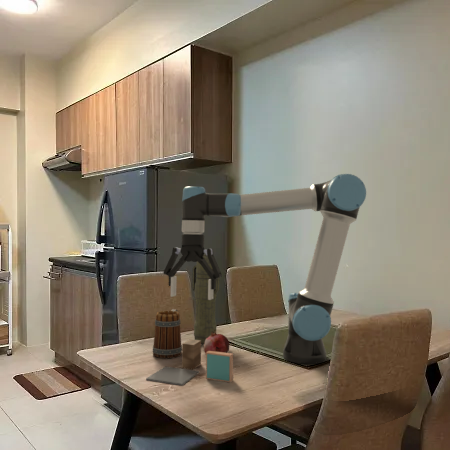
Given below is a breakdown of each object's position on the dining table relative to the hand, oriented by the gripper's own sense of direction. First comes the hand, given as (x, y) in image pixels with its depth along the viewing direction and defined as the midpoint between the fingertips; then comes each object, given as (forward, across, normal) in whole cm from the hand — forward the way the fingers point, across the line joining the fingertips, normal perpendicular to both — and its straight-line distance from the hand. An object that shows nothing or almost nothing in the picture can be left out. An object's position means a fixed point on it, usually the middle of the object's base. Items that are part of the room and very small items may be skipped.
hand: (191, 297), depth 144 cm
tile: (+23, -13, +8) cm, 27 cm away
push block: (+23, 0, 0) cm, 23 cm away
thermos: (+23, +8, -30) cm, 39 cm away
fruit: (+23, -4, -12) cm, 26 cm away
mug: (+23, +14, -11) cm, 29 cm away
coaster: (+23, +1, +11) cm, 25 cm away
